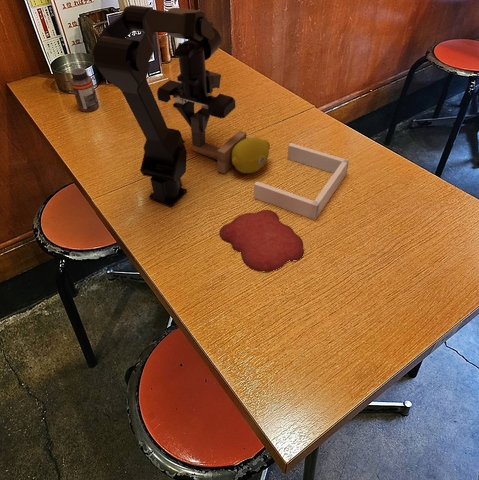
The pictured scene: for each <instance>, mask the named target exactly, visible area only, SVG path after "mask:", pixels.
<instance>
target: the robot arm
mask: <svg viewBox="0 0 479 480" xmlns="http://www.w3.org/2000/svg"><path fill="white" fill-rule="evenodd" d="M132 32H138V33H139V32H140V33H143V36H142V38H141V40H140V41H139V40H136V39H135V40H134V39H129V38H128V39H127V37H128V36H130V35H131V34H132ZM155 33H163V34H164V33H166V34H167V35H168V36H170V37H172V38H176V39H181V40H182V39H183V40H184V41H183V42H182V43H181V42H178V45H177V47H176V48H175V49H174V52H173V56H174V57H177V58H178V65H179V73H180V74H179V75H177V76H176V78H177V80H178V81H180V82H181V83H179V82H177V81H174V80H171V79H168V81H166V82H165V83H163V84H162V85H160V87H158V88H157V91H156V95H157V100H158V101H160V102H164V103H168V102H169V101H171V96H172V98H173V99H174V103H173V104H172V107H173V108H175V109H176V110H177V111H178V112H179V114H180V115H181V116H182V117H183V118H184V121H186V123H187V124H188V126H189V127H190V128H191V116H192V115H193V114H195V113H196V114H197V118H198V122H199V125H200V129H201V131H202V132H204V131H205V132H206V129H207V126H208V124H209V120H210V118H211V117H215V118H218V119H224V118H226V117H227V116H228V115H230V113H232V112H233V111H234V110H236V99H235V98H234V96H230V95H226V94H223V93H219V94H218V95H216V96H214V95H209V94H212V93H213V92H214V89H220V85H221V79H222V74H221V73H218V72H213V71H210V70H208V69H206V60H209V59H210V58H211V57H212V56H213V55H214V54H215V53H216V52H217V50H219V48H220V47H221V46H222V37H221V34H220V32H219V31H218V30H217V29H216V28H214V24H213V21H209V20H208V18H207V17H206V13H205V11H204V10H200V9H190V8H184V7H183V8H182V7H173V8H169V9H167V11H166V10H161V9H153V8H152V7H151V6H144V5H143V6H141V5H134V4H132V5H131V4H130V5H128V6H125V8H123V10H122V12H121V15H120V16H118V17H117V18H116V19H115V20H114V21H112V22H110V23H109V24H108V25H107V26H105V27H104V28H103V29H102V31H101V33H100V35H99V36H98V39H97V41H96V42H95V44H94V46H93V48H92V58H93V62H94V64H95V67H96V69H97V70H98V71H99V73H101V75H102V76H103V77H104V78H105V80H107V81H108V82H109V83H111V84H112V85H114V86H115V87H116V88H117V89H119V91H121V92H122V95H123V97H124V98H125V100H126V102H127V105H128V107H129V108H130V110H131V112H132V114H133V116H134V118H135V121H136V122H137V123H138V126H139V128H140V130H141V131H142V134H143V136H144V137H145V142H144V144H143V147H142V148H143V151H144V152H143V157H142V161H141V165H140V170H139V171H140V173H141V175H142V176H144V177H149V178H150V184H151V189H152V193H151V194H150V195H148V198H149V199H150V200H152V201H154V202H157V203H159V204H161V205H165V206H168V207H169V208H172V207H173V206H174V205H175V204H176V203H177V202H178V201H180V200H181V198H183V196H184V195H185V194H186V193H188V190H187V189H186V188H184V187H182V177H183V176H184V175H185V174H186V172H187V157H188V156H187V155H188V153H187V148H186V146H185V142H186V141H185V140H184V139H183V136H182V133H181V131H180V130H179V129H175V128H171V127H168V126H167V123H166V121H165V119H164V117H163V115H162V112H161V110H160V107H159V105H158V103H157V100H156V98H155V97H154V93H153V92H152V89H151V87H150V85H149V84H150V83H148V80H147V76H148V73H149V70H150V68H151V66H150V60H151V58H152V56H153V54H154V52H155V46H154V45H155V44H154V39H153V36H154V34H155ZM195 104H197V105H200V108H199V110H197V111H196V112H195Z"/></svg>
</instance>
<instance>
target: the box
mask: <svg viewBox="0 0 479 480" xmlns="http://www.w3.org/2000/svg"><path fill="white" fill-rule="evenodd" d="M287 160H291V161H294V162H297V163H301V164H303V165H307V166H308V167H309V166H310V167H313V168H314V169H315V168H316V169H319V170H323V171H326V172H328V173H332V175H331V177H330V178H329V179H328V181H327V182H326V184H325V185H324V187H323V188H322V189H321V191H320V192H319V193H318V195H317V196H316V198H315V199H314V200H313V199H309V198H307V197H304V196H301V195H298V194H295V193H292V192H289V191H286V190H284V189H280V188H277V187H276V186H275V187H274V186H272V185H269V184H266V183H263V182H260V181H255V183H253V198H254V199H256V200H259V201H262V202H264V203H268V204H270V205H273V206H276V207H278V208H281V209H284V210H287V211H289V212H292V213H295V214H298V215H301V216H304V217H307V218H309V219H311V220H314V221H315V220H316V219H317V218H318V216H319V215H320V214H321V212H322V211H323V209H324V208H325V207H326V205H327V204H328V202H329V200H330V199H331V198H332V196H333V194H334V193H335V191H336V190H337V189H338V187H339V186H340V184H341V183H342V181H343V180H344V178H345V177H346V175H347V174H348V169H349V163H350V160H349V159H346V158H342V157H339V156H335V155H332V154H329V153H325V152H322V151H319V150H316V149H312V148H309V147H305V146H302V145H298V144H295V143H292V142H290V143H289V144H288V145H287Z"/></svg>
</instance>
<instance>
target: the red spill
mask: <svg viewBox="0 0 479 480" xmlns="http://www.w3.org/2000/svg"><path fill="white" fill-rule="evenodd" d="M218 235H219V237H220V239H221V240H222V241H224V242H226V243H230V244H231V247H232V249H233V250H234V251H235V250H236V252H238V253H240V252H241V253H240V254H241V258H242V259H241V260H242V262H243V261H244V262H243V263H244V264H245V266H246V267H248V266H249V267H250V268H249V267H248V268H249V269H251V270H252V269H254V270H253V271H255V270H257V271H256V272H258V271H273V270H276V269H278V268H280V267H281V268H283V267H284V266H285V265H286V264H287V263H288V262H287V261H289V260H290V261H293V260H297V259H300V258H301V257H302V256H303V254H304V255H305V250H304V242H303V239H302V238H301V236H300V235H298V234H297V233H296V232H295V231H294V229H293V228H292V227H291V226H290V225H288V224H284V223H282V222H281V221H280V217H279V215H278V213H277V212H275V211H274V210H270V209H262V210H259V211H257V212H247V213H242V214H239V215H238V216H235V218H234V219H233V220H231V222H227V223H226V224H224V225H222V227H221V228H220V229H219V233H218ZM303 257H304V256H303ZM303 257H302V258H303ZM302 258H301V259H302ZM301 259H300V260H301ZM286 262H287V263H286ZM285 263H286V264H285ZM284 264H285V265H284ZM283 265H284V266H283ZM282 266H283V267H282ZM281 268H280V269H281ZM278 270H279V269H278ZM276 271H277V270H276ZM273 272H274V271H273Z"/></svg>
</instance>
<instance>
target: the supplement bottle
mask: <svg viewBox="0 0 479 480" xmlns="http://www.w3.org/2000/svg"><path fill="white" fill-rule="evenodd" d="M71 75H72V78H71V79H70V85H71V88H72V91H73V94H74V98H75V100H76V104H77V107H78V109H79V111H81V112H84V113H89V112H93V111H95V110H97V109H98V108H99V106H100V103H99V99H98V95H97V92H96V89H95V84H94V82H93V78H92V77H91V76H90V75H89V74H88V72H87V70H86V68H83V67H77V68H74V69H72V70H71Z"/></svg>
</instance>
